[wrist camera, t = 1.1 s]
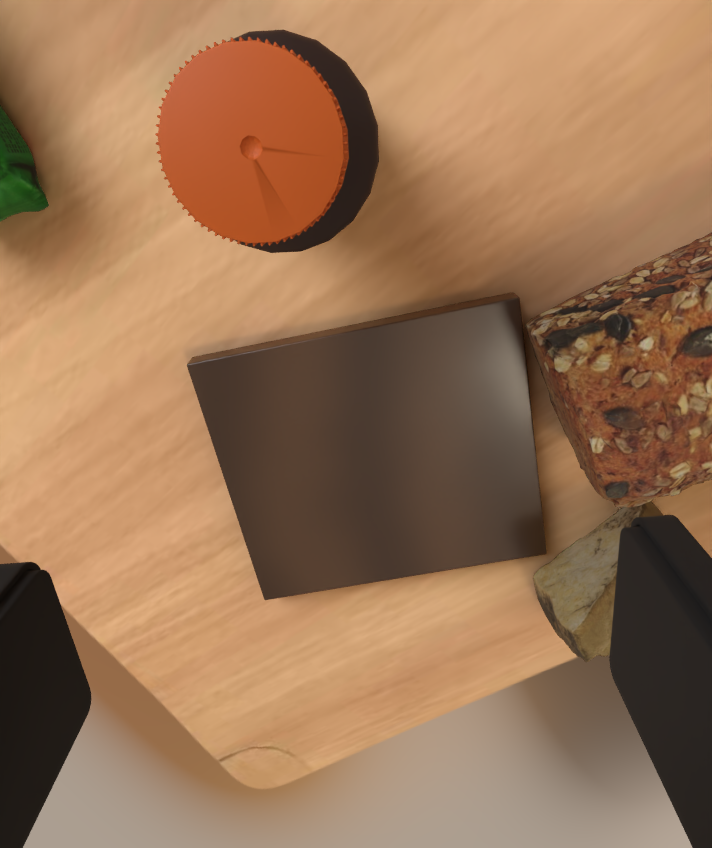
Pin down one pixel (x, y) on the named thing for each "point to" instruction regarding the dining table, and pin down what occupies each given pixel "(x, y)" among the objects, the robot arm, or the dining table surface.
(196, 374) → the serving board
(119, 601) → the dining table surface
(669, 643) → the robot arm
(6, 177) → the snack package
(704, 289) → the bread
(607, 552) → the rock
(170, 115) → the vinegar
